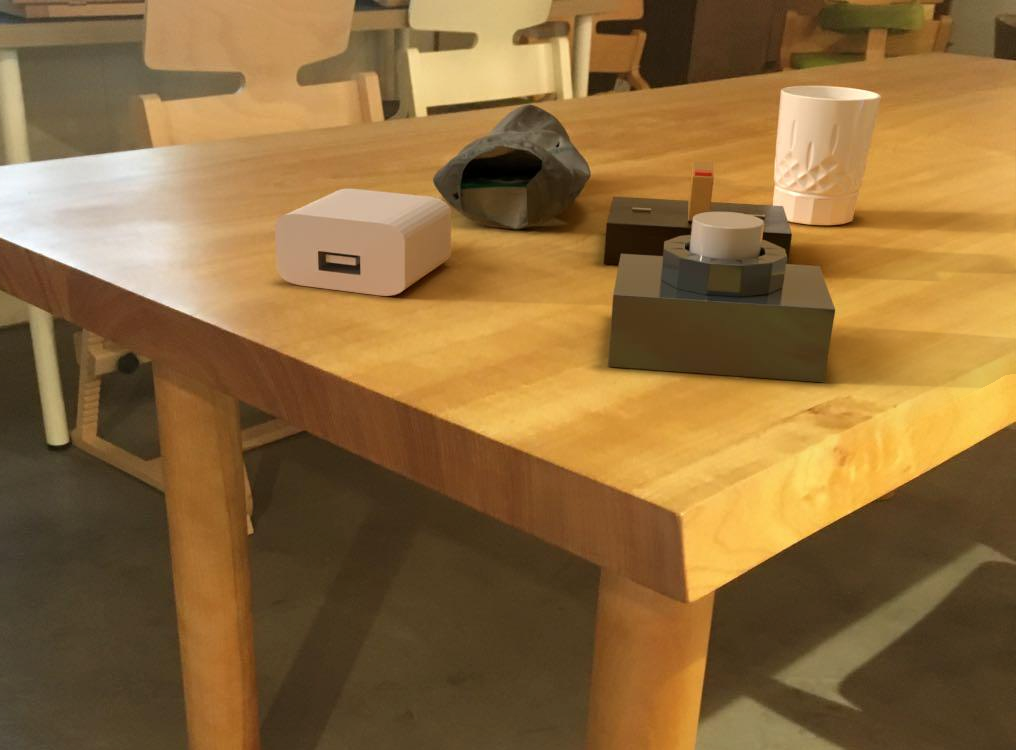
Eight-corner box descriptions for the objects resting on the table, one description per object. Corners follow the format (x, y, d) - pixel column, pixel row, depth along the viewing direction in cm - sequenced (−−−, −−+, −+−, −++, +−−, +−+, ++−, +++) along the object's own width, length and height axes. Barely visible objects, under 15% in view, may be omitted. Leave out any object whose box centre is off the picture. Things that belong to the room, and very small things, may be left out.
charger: (478, 245, 94) (404, 298, 81) (366, 233, 96) (277, 282, 84) (480, 181, 92) (404, 226, 79) (365, 170, 94) (273, 211, 82)
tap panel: (777, 243, 97) (783, 202, 95) (786, 277, 88) (793, 232, 87) (610, 233, 98) (613, 193, 97) (603, 265, 90) (606, 221, 88)
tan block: (688, 204, 94) (692, 158, 93) (707, 205, 94) (713, 159, 93) (687, 221, 90) (692, 172, 88) (708, 222, 89) (714, 173, 88)
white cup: (822, 203, 110) (840, 84, 105) (879, 224, 103) (902, 98, 99) (746, 209, 107) (761, 87, 102) (801, 230, 101) (820, 101, 96)
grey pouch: (579, 237, 96) (611, 169, 118) (577, 141, 93) (610, 89, 114) (415, 239, 99) (475, 172, 120) (407, 146, 96) (470, 94, 117)
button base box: (809, 332, 77) (824, 236, 74) (823, 382, 69) (841, 276, 66) (615, 319, 79) (623, 224, 76) (607, 366, 71) (615, 262, 68)
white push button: (757, 248, 73) (762, 213, 72) (761, 266, 69) (766, 229, 68) (688, 244, 73) (692, 209, 72) (688, 262, 70) (692, 225, 69)
